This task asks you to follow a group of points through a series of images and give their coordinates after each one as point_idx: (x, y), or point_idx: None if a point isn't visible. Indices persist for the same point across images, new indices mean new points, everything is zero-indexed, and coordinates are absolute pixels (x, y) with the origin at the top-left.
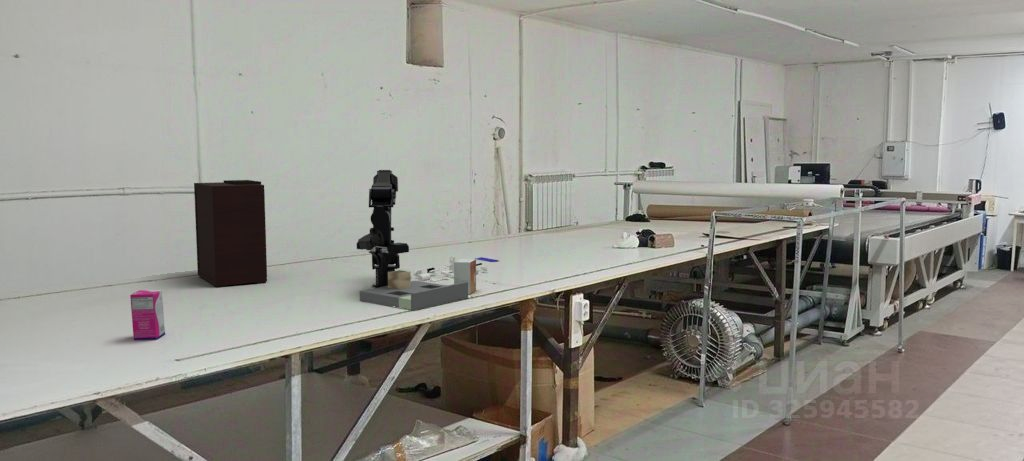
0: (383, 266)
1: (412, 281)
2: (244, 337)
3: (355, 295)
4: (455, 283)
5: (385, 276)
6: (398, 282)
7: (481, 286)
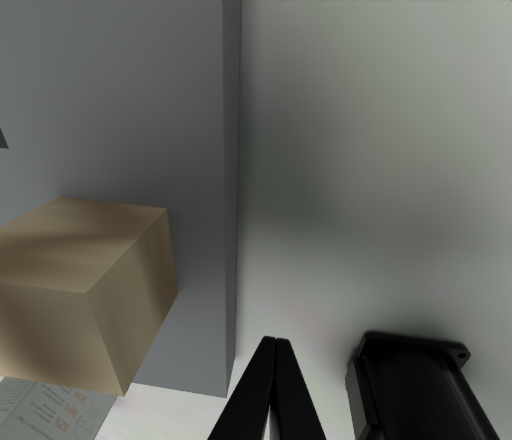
0: (229, 406)
1: (218, 383)
2: None
3: (425, 103)
4: (26, 388)
5: (396, 406)
6: (20, 221)
7: (121, 434)
